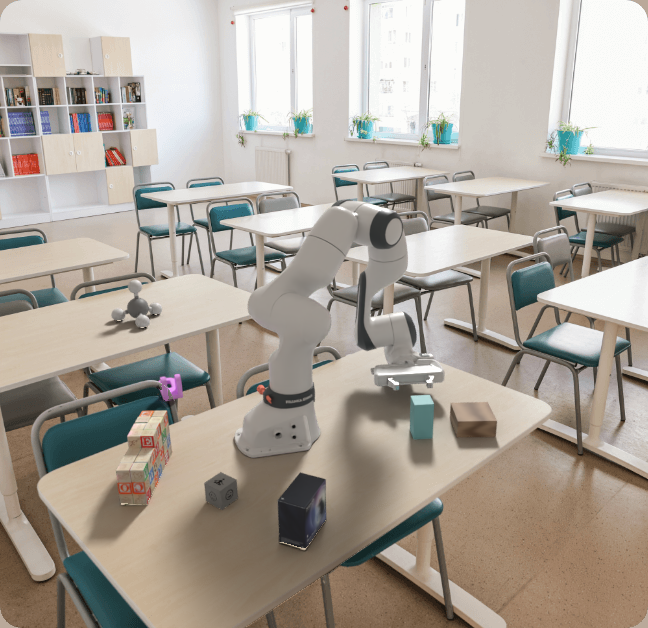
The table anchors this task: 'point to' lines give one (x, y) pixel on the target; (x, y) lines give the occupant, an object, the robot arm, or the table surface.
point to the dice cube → (221, 490)
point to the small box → (302, 510)
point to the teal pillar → (421, 417)
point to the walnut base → (473, 419)
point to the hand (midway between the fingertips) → (413, 386)
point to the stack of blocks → (144, 457)
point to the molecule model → (137, 307)
